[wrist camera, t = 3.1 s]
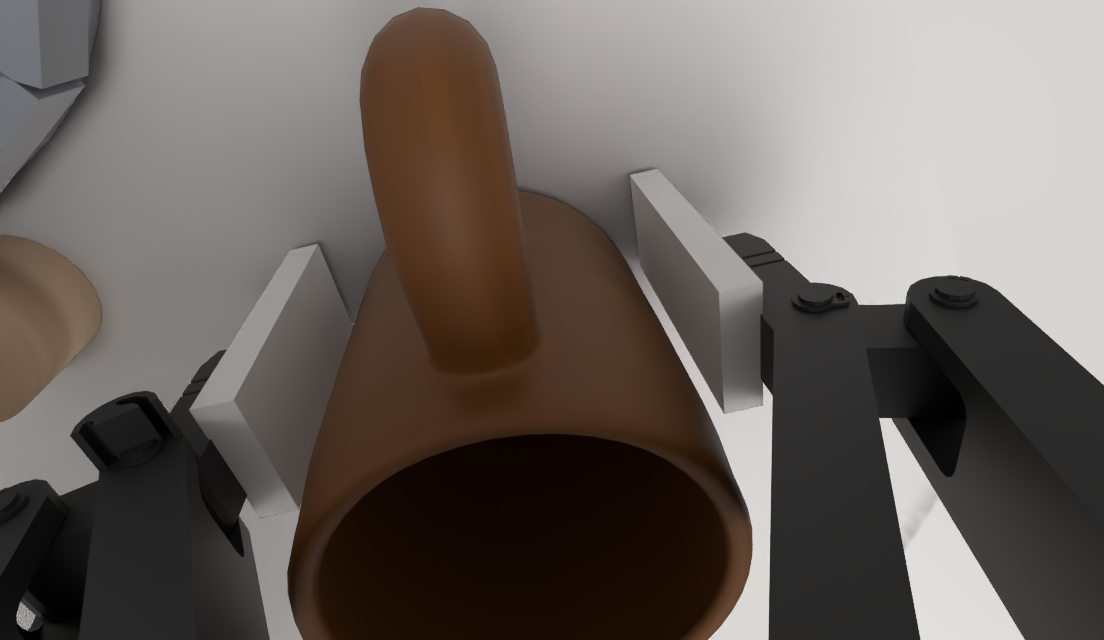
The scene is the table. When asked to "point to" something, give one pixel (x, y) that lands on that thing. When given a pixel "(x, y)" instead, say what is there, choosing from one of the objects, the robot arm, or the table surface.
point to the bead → (40, 319)
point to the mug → (502, 402)
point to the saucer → (40, 72)
